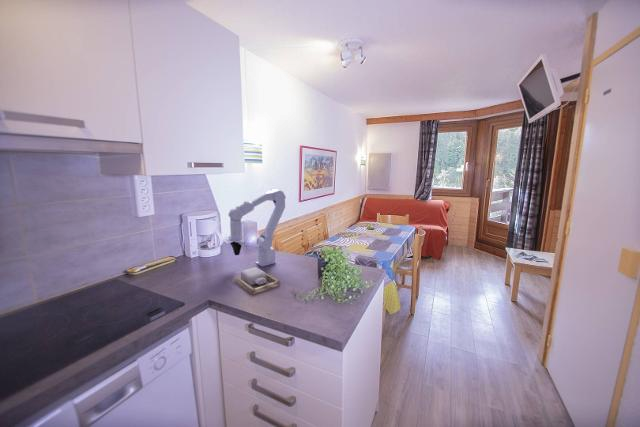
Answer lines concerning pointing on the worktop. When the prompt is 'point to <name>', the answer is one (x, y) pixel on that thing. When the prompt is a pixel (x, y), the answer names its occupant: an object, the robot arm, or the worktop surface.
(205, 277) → the worktop surface
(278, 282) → the frame
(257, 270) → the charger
